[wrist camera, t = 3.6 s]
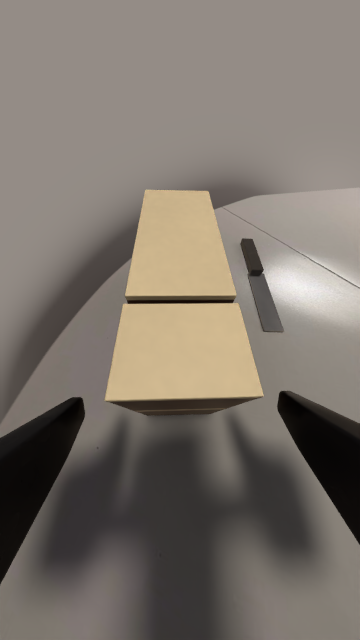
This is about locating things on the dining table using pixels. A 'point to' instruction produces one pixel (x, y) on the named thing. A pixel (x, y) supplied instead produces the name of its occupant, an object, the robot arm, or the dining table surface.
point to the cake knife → (260, 289)
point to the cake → (178, 252)
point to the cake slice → (182, 359)
